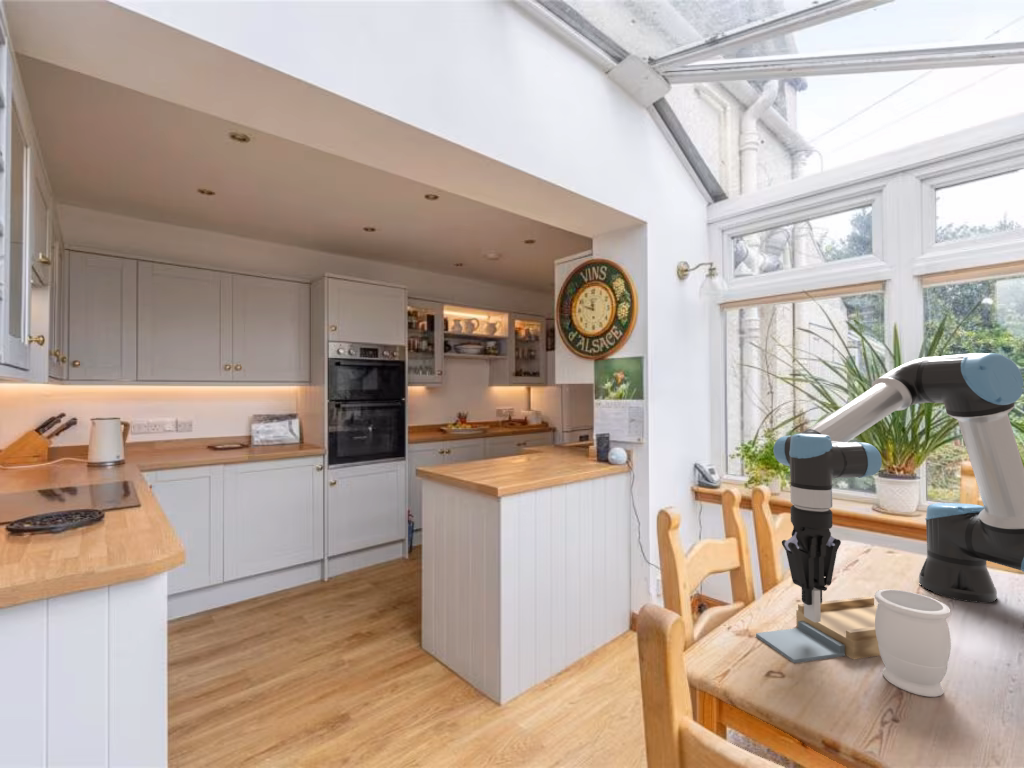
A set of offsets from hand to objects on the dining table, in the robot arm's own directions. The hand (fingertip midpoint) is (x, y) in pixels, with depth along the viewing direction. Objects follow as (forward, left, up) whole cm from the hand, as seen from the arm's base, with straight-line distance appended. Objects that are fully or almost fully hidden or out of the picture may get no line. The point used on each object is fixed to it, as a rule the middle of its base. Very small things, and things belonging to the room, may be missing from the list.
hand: (812, 618), depth 100 cm
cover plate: (+4, 0, -6) cm, 7 cm away
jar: (-6, +16, -5) cm, 18 cm away
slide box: (-13, 0, -5) cm, 14 cm away
